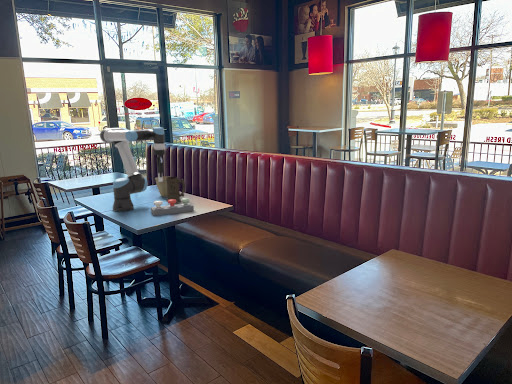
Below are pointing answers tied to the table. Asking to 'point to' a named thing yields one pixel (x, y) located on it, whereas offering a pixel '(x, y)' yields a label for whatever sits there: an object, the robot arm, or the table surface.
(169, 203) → the red button
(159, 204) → the white button
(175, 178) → the beer stein
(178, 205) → the button panel
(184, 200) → the green button
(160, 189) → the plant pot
